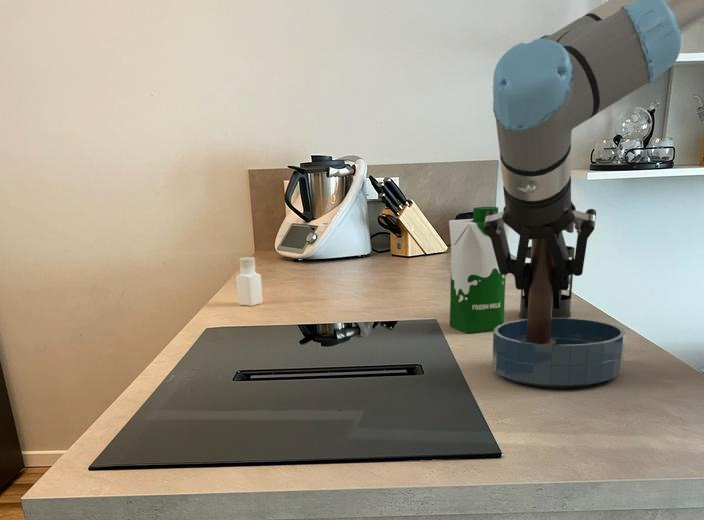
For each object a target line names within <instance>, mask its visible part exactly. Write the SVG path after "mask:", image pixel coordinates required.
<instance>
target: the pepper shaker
mask: <svg viewBox="0 0 704 520" xmlns="http://www.w3.org/2000/svg"><path fill="white" fill-rule="evenodd" d="M238 262H239V269H240V273H239V274H237V275H236V277H235V281H236V293H237V302H238V305H239V306H247V307H248V306H249V307H254V306H257V305H261V304H262V303H263V301H264V299H263V286H262V275H261V274H260V273H257V272H256V259H255V257H253V256H246V257H239V259H238Z"/></svg>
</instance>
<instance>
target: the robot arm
mask: <svg viewBox="0 0 704 520" xmlns="http://www.w3.org/2000/svg"><path fill="white" fill-rule="evenodd" d="M703 22H704V0H606V1H604V2H603V3H601V4H600V5H598V6H597V7H595V8H593V9H592V10H590V11H588V12H586V14H585V15H583V16H581V17H579V18H577V19H575V20H574V21H572V22H571V23H569V24H567V25H566V26H564V27H562V28H560V29H559V30H557V31H555V32H553V33H552V34H545V35H543V36H540V37H539V38H535V39H533V40H532V41H531V42H528V43H524V42H520V43H517V44H515V45H514V46H512V47H511V48H510V49H508V50H507V51H506V52H504V54H502V56H501V57H500V58H499V60H498V61H497V63H496V65H495V68H494V70H493V77H492V96H493V97H492V98H493V99H492V100H493V101H492V111H493V114H494V118H495V125H496V132H497V141H498V149H499V161H500V162H499V163H500V170H501V171H500V172H501V180H502V184H503V185H502V189H503V198H504V207H503V210H502V211H500V212H498V213H497V214H496V212H495V211H492V210H489V211H487V212H486V218H485V223H484V229H483V230H484V231H485V232H486V234H487V235H488V236H489V237H490V238H491V241H492V245H493V249H494V253H495V257H496V261H497V264H498V268H499V272H500V274H502V275H506V276H508V274H511V275H513V277H514V283H515V284H514V285H515V289H516V290H520V291H521V290H523V295H524V300H525V308H528V299H529V281H530V263H531V262H526V261H527V258H526V255H527V249H528V247H529V243H530V240H531V241H532V239H538V238H539V239H545V240H546V242H547V245H548V247H550V250H551V253H552V257H553V260H554V263H555V268H554V275H553V299H554V309H559V308H560V301H561V294H563V293H562V292H563V291H568V290H569V286H570V284H569V281H570V275H571V274H573V276H576V277H580V276H582V275H583V273H584V272H583V271H584V264H585V258H586V252H587V244H588V239H589V238H590V236H591V235H592V233H593V232H594V231H595V227H596V218H597V210H596V209H594V208H589V209H587V210H586V211H585V212H583V211H580V210H576V205H574V203H573V202H572V176H571V174H572V131H573V130H574V129H575V128H577V127H578V126H580V125H582V124H584V123H585V122H586V121H588V120H590V119H591V118H593V117H594V116H596V115H597V114H599V113H601V112H602V111H604V110H606V109H607V108H609V107H611V106H612V105H614V104H616V103H618V102H620V100H622V99H624V98H625V97H627V96H629V95H630V94H632V93H634V92H635V91H637V90H639V89H640V88H642V87H644V86H645V85H647V84H648V85H649V84H651V83H653V81H654V80H655V79H657V78H658V77H659V76H661V75H662V74H663V73H665V72H666V71H667V70H668V69H670V68H672V66H673V65H674V64H675V63H676V61H677V60H678V58H679V56H680V52H681V48H682V35H683V34H685V33H686V32H688V31H690V30H691V29H693V28H695V27H696V26H698V25H700V24H702V23H703ZM572 222H573V223H574V230H576V233H577V236H576V243H575V253H574V259H571V258H569V255H568V252H567V248H566V246H567V244H566V241H565V237H564V233H563V231H565V230H564V229H565V228H566V227H567V226H569V225H570V224H571V223H572ZM504 224H507V225H508V226H509V227H510V229H511V230H513V231H514V232H515V233H516V234H517V235H519V237H518V238H519V239H518V244H517V251H516V258H512V254H511V251H510V246H509V241H508V242H507V237H506V233H505V229H504Z"/></svg>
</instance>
